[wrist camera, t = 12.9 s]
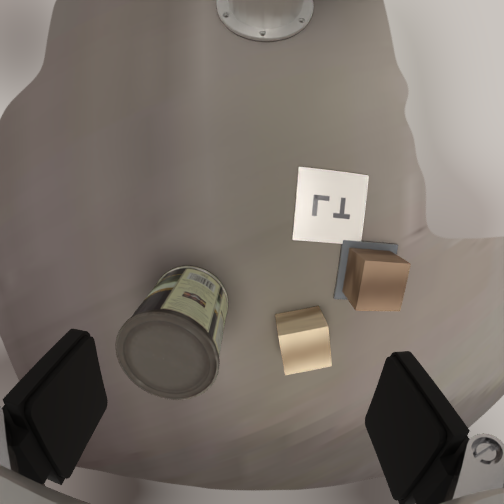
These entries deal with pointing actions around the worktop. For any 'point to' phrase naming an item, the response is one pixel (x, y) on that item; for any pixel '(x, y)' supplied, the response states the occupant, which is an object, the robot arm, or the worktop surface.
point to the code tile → (329, 205)
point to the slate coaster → (344, 257)
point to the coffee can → (175, 335)
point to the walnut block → (375, 280)
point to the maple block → (303, 340)
